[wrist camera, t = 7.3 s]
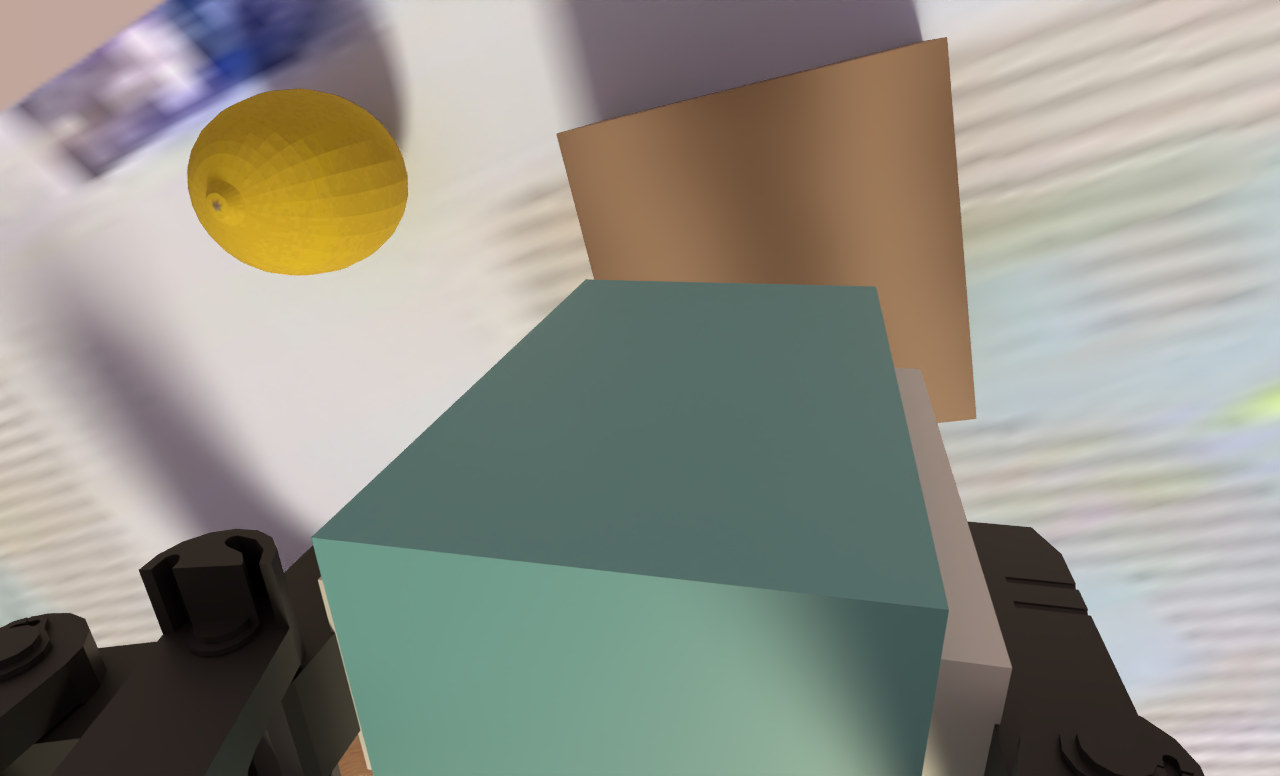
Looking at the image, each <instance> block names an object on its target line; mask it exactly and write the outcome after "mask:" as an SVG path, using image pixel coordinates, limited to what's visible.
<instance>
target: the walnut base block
mask: <svg viewBox="0 0 1280 776" xmlns="http://www.w3.org/2000/svg"><path fill="white" fill-rule="evenodd" d="M557 138H558V142H559V145H560V149H561V153H562V157H563V161H564V165H565V168H566V172H567V176H568V180H569V184H570V188H571V192H572V195H573V199H574V203H575V207H576V211H577V215H578V218H579V222H580V226H581V230H582V234H583V238H584V242H585V245H586V249H587V253H588V257H589V261H590V265H591V268H592V272H593V276H594V280H626V281H668V282H710V283H752V284H794V285H835V286H876V289H877V293H878V298H879V302H880V306H881V311H882V315H883V320H884V324H885V329H886V333H887V337H888V342H889V346H890V351H891V355H892V360H893V364H894V368H908V369H921V372H922V376H923V379H924V382H925V386H926V389H927V392H928V395H929V399H930V402H931V405H932V408H933V412H934V415H935V418H936V421H937V423H941V422H950V421H960V420H969V419H976V407H975V394H974V381H973V368H972V355H971V342H970V329H969V316H968V303H967V290H966V277H965V264H964V251H963V238H962V225H961V212H960V199H959V186H958V173H957V160H956V147H955V134H954V121H953V108H952V95H951V82H950V69H949V56H948V43H947V37H945V38H939V39H933V40H927V41H922V42H918V43H914V44H910V45H906V46H902V47H898V48H894V49H890V50H886V51H882V52H878V53H874V54H870V55H866V56H862V57H858V58H854V59H849V60H845V61H841V62H837V63H833V64H829V65H825V66H821V67H817V68H813V69H809V70H805V71H801V72H797V73H793V74H789V75H785V76H781V77H777V78H773V79H769V80H765V81H761V82H757V83H753V84H749V85H745V86H741V87H737V88H733V89H729V90H725V91H721V92H717V93H712V94H708V95H704V96H700V97H696V98H692V99H688V100H684V101H680V102H676V103H672V104H668V105H664V106H660V107H656V108H652V109H648V110H644V111H640V112H636V113H632V114H628V115H624V116H620V117H616V118H612V119H608V120H604V121H600V122H596V123H593V124H589V125H586V126H582V127H579V128H575V129H572V130H568V131H564V132H561V133H557Z"/></svg>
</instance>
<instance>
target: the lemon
mask: <svg viewBox="0 0 1280 776" xmlns="http://www.w3.org/2000/svg"><path fill="white" fill-rule="evenodd" d="M187 174H188V190H189V194H190V198H191V202H192V206H193V208H194V210H195V212H196V214H197V217H198V219H199V221H200V223H201V224H202V225H203V227H204V228H205V230H206V231H207V232H208V234H209V235H210V236H211V237H212V238H213V239H214V240H215V241H216V242H217V243H218V244H219V245H220V246H221V247H222V248H223V249H224V250H225V251H226V252H228V253H229V254H231V255H232V256H234V257H235V258H237V259H238V260H240V261H241V262H243V263H245V264H248V265H250V266H253V267H255V268H258V269H260V270H263V271H266V272H271V273H278V274H286V275H312V274H319V273H325V272H332V271H336V270H341V269H344V268H346V267H349V266H351V265H353V264H355V263H357V262H359V261H361V260H363V259H365V258H366V257H368V256H370V255H371V254H373V253H374V252H376V251H377V250H378V249H379V248H380V247H381V246H382V245H383V244H384V243H385V242H386V241H387V240H388V239H389V238H390V237H391V236H392V234H393V233H394V232H395V230H396V228H397V226H398V224H399V222H400V220H401V218H402V216H403V214H404V211H405V206H406V202H407V197H408V178H407V172H406V168H405V164H404V160H403V157H402V155H401V153H400V151H399V148H398V146H397V144H396V142H395V141H394V139H393V138H392V137H391V135H390V134H389V133H388V131H387V130H386V129H385V127H384V126H383V125H382V124H381V123H380V122H379V121H378V120H377V119H376V118H374V117H373V116H372V115H371V114H370V113H369V112H367V111H366V110H365V109H363V108H362V107H360V106H358V105H356V104H354V103H352V102H350V101H348V100H346V99H344V98H342V97H340V96H337V95H333V94H328V93H324V92H319V91H315V90H309V89H289V90H276V91H269V92H264V93H261V94H258V95H255V96H253V97H250V98H248V99H245V100H243V101H241V102H239V103H236V104H234V105H232V106H230V107H228V108H226V109H225V110H223V111H222V112H220V113H219V114H218V115H217V116H216V117H215V118H214V119H213V120H212V121H211V122H210V123H209V124H208V125H207V126H206V127H205V128H204V129H203V130H202V131H201V133H200V135H199V137H198V139H197V141H196V143H195V145H194V146H193V148H192V150H191V154H190V159H189V164H188V171H187Z"/></svg>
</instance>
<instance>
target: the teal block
mask: <svg viewBox="0 0 1280 776" xmlns="http://www.w3.org/2000/svg"><path fill="white" fill-rule="evenodd" d="M311 539H312V543H313V546H314V550H315V554H316V558H317V562H318V565H319V569H320V573H321V577H322V581H323V585H324V588H325V592H326V596H327V600H328V604H329V608H330V611H331V615H332V619H333V623H334V627H335V631H336V634H337V638H338V642H339V646H340V650H341V653H342V657H343V661H344V665H345V669H346V673H347V676H348V680H349V684H350V688H351V692H352V696H353V699H354V703H355V707H356V711H357V715H358V718H359V722H360V726H361V730H362V734H363V738H364V741H365V745H366V749H367V753H368V757H369V761H370V764H371V768H372V772H373V776H922V772H923V765H924V759H925V753H926V747H927V741H928V735H929V729H930V723H931V717H932V711H933V704H934V698H935V692H936V686H937V680H938V674H939V668H940V662H941V656H942V649H943V643H944V637H945V631H946V625H947V619H948V613H949V608H948V603H947V599H946V594H945V590H944V586H943V581H942V577H941V572H940V568H939V563H938V559H937V554H936V550H935V546H934V541H933V537H932V532H931V528H930V523H929V519H928V515H927V510H926V506H925V501H924V497H923V492H922V488H921V484H920V479H919V475H918V470H917V466H916V461H915V457H914V453H913V448H912V444H911V439H910V435H909V430H908V426H907V422H906V417H905V413H904V408H903V404H902V399H901V395H900V391H899V386H898V382H897V377H896V373H895V368H894V364H893V360H892V355H891V351H890V346H889V342H888V337H887V333H886V329H885V324H884V320H883V315H882V311H881V306H880V302H879V298H878V293H877V289H876V286H835V285H794V284H752V283H710V282H668V281H626V280H585V281H584V282H583V283H582V284H581V285H580V286H579V287H577V288H576V289H575V290H574V291H573V292H572V293H571V294H570V295H569V296H568V297H567V298H566V299H565V300H564V301H563V302H562V303H560V304H559V305H558V306H557V307H556V308H555V309H554V310H553V311H552V312H551V313H550V314H549V315H548V316H547V317H546V318H544V319H543V320H542V321H541V322H540V323H539V324H538V325H537V326H536V327H535V328H534V329H533V330H532V331H531V332H530V333H529V334H527V335H526V336H525V337H524V338H523V339H522V340H521V341H520V342H519V343H518V344H517V345H516V346H515V347H514V348H513V349H511V350H510V351H509V352H508V353H507V354H506V355H505V356H504V357H503V358H502V359H501V360H500V361H499V362H498V363H497V364H496V365H494V366H493V367H492V368H491V369H490V370H489V371H488V372H487V373H486V374H485V375H484V376H483V377H482V378H481V379H480V380H478V381H477V382H476V383H475V384H474V385H473V386H472V387H471V388H470V389H469V390H468V391H467V392H466V393H465V394H464V395H463V396H461V397H460V398H459V399H458V400H457V401H456V402H455V403H454V404H453V405H452V406H451V407H450V408H449V409H448V410H447V411H446V412H444V413H443V414H442V415H441V416H440V417H439V418H438V419H437V420H436V421H435V422H434V423H433V424H432V425H431V426H430V427H428V428H427V429H426V430H425V431H424V432H423V433H422V434H421V435H420V436H419V437H418V438H417V439H416V440H415V441H414V442H413V443H411V444H410V445H409V446H408V447H407V448H406V449H405V450H404V451H403V452H402V453H401V454H400V455H399V456H398V457H397V458H395V459H394V460H393V461H392V462H391V463H390V464H389V465H388V466H387V467H386V468H385V469H384V470H383V471H382V472H381V473H380V474H378V475H377V476H376V477H375V478H374V479H373V480H372V481H371V482H370V483H369V484H368V485H367V486H366V487H365V488H364V489H362V490H361V491H360V492H359V493H358V494H357V495H356V496H355V497H354V498H353V499H352V500H351V501H350V502H349V503H348V504H347V505H345V506H344V507H343V508H342V509H341V510H340V511H339V512H338V513H337V514H336V515H335V516H334V517H333V518H332V519H331V520H329V521H328V522H327V523H326V524H325V525H324V526H323V527H322V528H321V529H320V530H319V531H318V532H317V533H316V534H315V535H314V536H312V537H311Z"/></svg>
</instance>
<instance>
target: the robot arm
mask: <svg viewBox="0 0 1280 776" xmlns="http://www.w3.org/2000/svg"><path fill="white" fill-rule="evenodd" d="M895 373H896V377H897V382H898V386H899V391H900V395H901V399H902V404H903V408H904V413H905V417H906V422H907V426H908V430H909V435H910V439H911V444H912V448H913V453H914V457H915V461H916V466H917V470H918V475H919V479H920V484H921V488H922V492H923V497H924V501H925V506H926V510H927V515H928V519H929V523H930V528H931V532H932V537H933V541H934V546H935V550H936V554H937V559H938V563H939V568H940V572H941V577H942V581H943V586H944V590H945V594H946V599H947V603H948V608H949V613H948V619H947V625H946V631H945V637H944V643H943V649H942V656H941V662H940V668H939V674H938V680H937V686H936V692H935V698H934V704H933V711H932V717H931V723H930V729H929V735H928V741H927V747H926V753H925V759H924V765H923V772H922V776H1204V773H1203V771H1202V769H1201V767H1200V765H1199V764H1198V763H1197V762H1196V761H1195V760H1194V759H1193V758H1192V757H1191V756H1190V755H1189V754H1188V753H1187V751H1186V750H1185V749H1184V748H1183V747H1182V746H1181V745H1180V744H1179V743H1178V742H1177V741H1176V740H1175V739H1174V738H1173V737H1171V736H1170V735H1168V734H1167V733H1165V732H1164V731H1162V730H1161V729H1159V728H1158V727H1156V726H1155V725H1153V724H1152V723H1150V722H1149V721H1147V720H1146V719H1144V718H1143V717H1141V716H1138V714H1137V712H1136V710H1135V707H1134V705H1133V703H1132V701H1131V699H1130V697H1129V695H1128V693H1127V691H1126V689H1125V686H1124V684H1123V682H1122V680H1121V678H1120V676H1119V674H1118V672H1117V670H1116V668H1115V665H1114V663H1113V661H1112V659H1111V657H1110V655H1109V653H1108V651H1107V649H1106V647H1105V644H1104V642H1103V640H1102V638H1101V636H1100V634H1099V632H1098V630H1097V628H1096V626H1095V623H1094V621H1093V619H1092V617H1091V616H1089V615H1088V613H1087V611H1088V609H1087V607H1086V605H1085V602H1084V600H1083V598H1082V596H1081V594H1080V592H1079V590H1076V588H1075V585H1076V584H1075V581H1074V579H1073V577H1072V575H1071V573H1070V571H1069V569H1068V567H1067V565H1066V563H1065V560H1064V558H1063V556H1062V554H1061V553H1060V552H1059V551H1057V550H1056V549H1055V548H1054V547H1053V546H1052V545H1051V544H1049V543H1048V542H1047V541H1046V540H1045V539H1044V538H1043V537H1042V536H1040V535H1039V534H1038V533H1037V532H1036V531H1035V530H1034V529H1033V528H1031V527H1022V526H1010V525H999V524H988V523H976V522H967V519H966V516H965V513H964V509H963V506H962V503H961V500H960V496H959V493H958V490H957V487H956V483H955V480H954V477H953V474H952V470H951V467H950V464H949V460H948V457H947V454H946V451H945V447H944V444H943V441H942V438H941V434H940V431H939V428H938V425H937V421H936V418H935V415H934V412H933V408H932V405H931V402H930V399H929V395H928V392H927V389H926V386H925V382H924V379H923V376H922V372H921V369H908V368H895ZM139 572H140V575H141V577H142V580H143V583H144V585H145V588H146V590H147V593H148V596H149V598H150V601H151V604H152V606H153V609H154V611H155V614H156V617H157V619H158V622H159V625H160V627H161V630H162V632H163V635H162V637H161V638H160V639H159V640H158V642H150V643H141V644H132V645H123V646H114V647H105V648H97V645H96V643H95V641H94V638H93V636H92V634H91V631H90V629H89V627H88V624H87V622H86V620H85V619H84V618H82V617H79V616H76V615H74V614H71V613H51V614H43V615H39V616H32V617H31V618H24V619H20V620H17V621H14V622H11V623H9V624H8V625H6V626H4V627H1V628H0V776H341V773H340V769H339V765H338V762H339V761H340V759H341V758H342V757H343V755H344V754H345V752H346V751H347V749H348V748H349V746H350V745H351V743H352V742H353V741H354V739H355V738H356V736H357V735H358V734H359V738H360V742H361V746H362V750H363V753H364V757H365V761H366V765H367V769H369V770H372V768H371V764H370V761H369V757H368V753H367V749H366V745H365V741H364V738H363V734H362V730H361V726H360V722H359V718H358V715H357V711H356V707H355V703H354V699H353V696H352V692H351V688H350V684H349V680H348V676H347V673H346V669H345V665H344V661H343V657H342V653H341V650H340V646H339V642H338V638H337V634H336V631H335V627H334V623H333V619H332V615H331V611H330V608H329V604H328V600H327V596H326V592H325V588H324V585H323V581H322V577H321V573H320V569H319V565H318V562H317V558H316V554H315V550H314V546H312V547H311V548H310V549H309V550H308V551H307V552H306V553H305V554H304V555H302V556H301V557H300V558H299V559H298V560H297V561H296V562H295V563H294V564H293V565H292V566H291V567H290V568H289V569H288V570H287V571H286V572H285V573H284V572H283V569H282V565H281V562H280V558H279V555H278V551H277V548H276V546H275V544H274V541H273V539H272V537H270V536H268V535H266V534H264V533H262V532H260V531H258V530H244V529H232V530H225V531H219V532H212V533H208V534H205V535H202V536H199V537H196V538H193V539H190V540H186V541H183V542H181V543H179V544H178V545H176V546H174V547H172V548H170V549H168V550H166V551H164V552H162V553H160V554H158V555H157V556H156V557H154V558H153V559H152V560H151V561H149V562H148V563H147V564H146V565H144V566H143V567H142V568H141V569H139Z"/></svg>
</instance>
